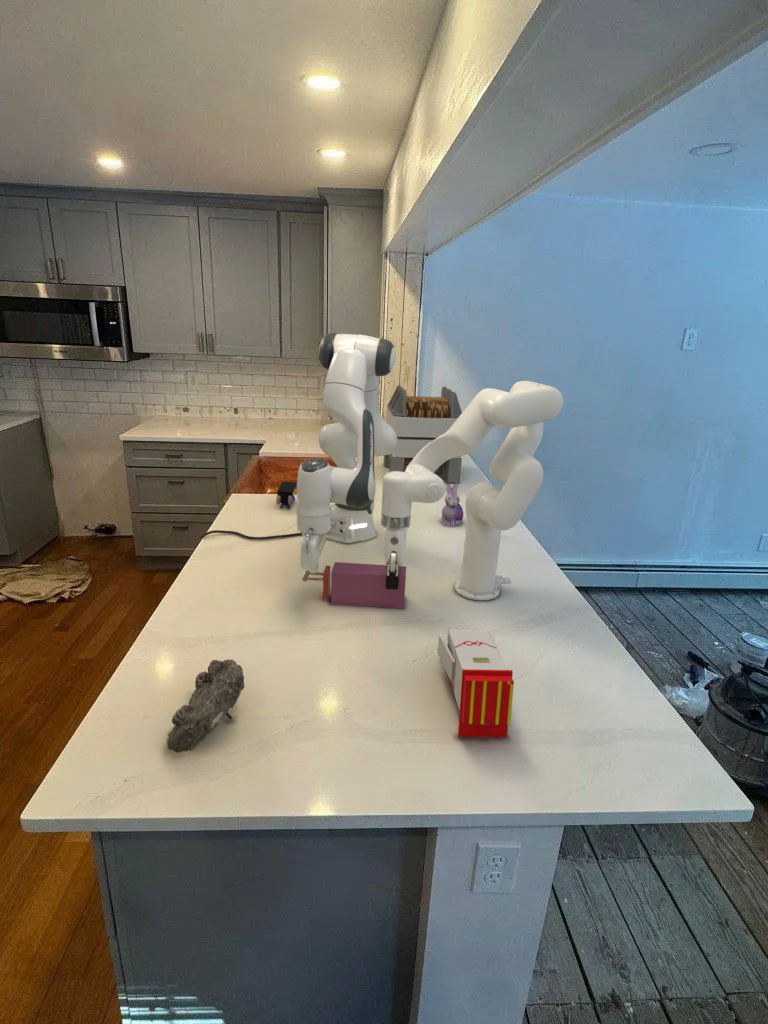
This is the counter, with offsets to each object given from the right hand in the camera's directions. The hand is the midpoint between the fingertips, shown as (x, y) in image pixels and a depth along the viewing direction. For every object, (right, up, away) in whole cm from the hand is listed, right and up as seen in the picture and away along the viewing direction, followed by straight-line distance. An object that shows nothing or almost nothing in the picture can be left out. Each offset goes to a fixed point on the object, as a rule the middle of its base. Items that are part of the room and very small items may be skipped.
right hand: (392, 582), depth 151 cm
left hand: (-21, +3, 0) cm, 21 cm away
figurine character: (-41, +22, +73) cm, 86 cm away
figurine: (+23, +15, +61) cm, 67 cm away
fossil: (-35, -20, -43) cm, 59 cm away
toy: (+16, -19, -33) cm, 41 cm away
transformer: (+15, +38, +124) cm, 130 cm away
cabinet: (-6, -5, +2) cm, 9 cm away
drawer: (-12, -4, +2) cm, 13 cm away
